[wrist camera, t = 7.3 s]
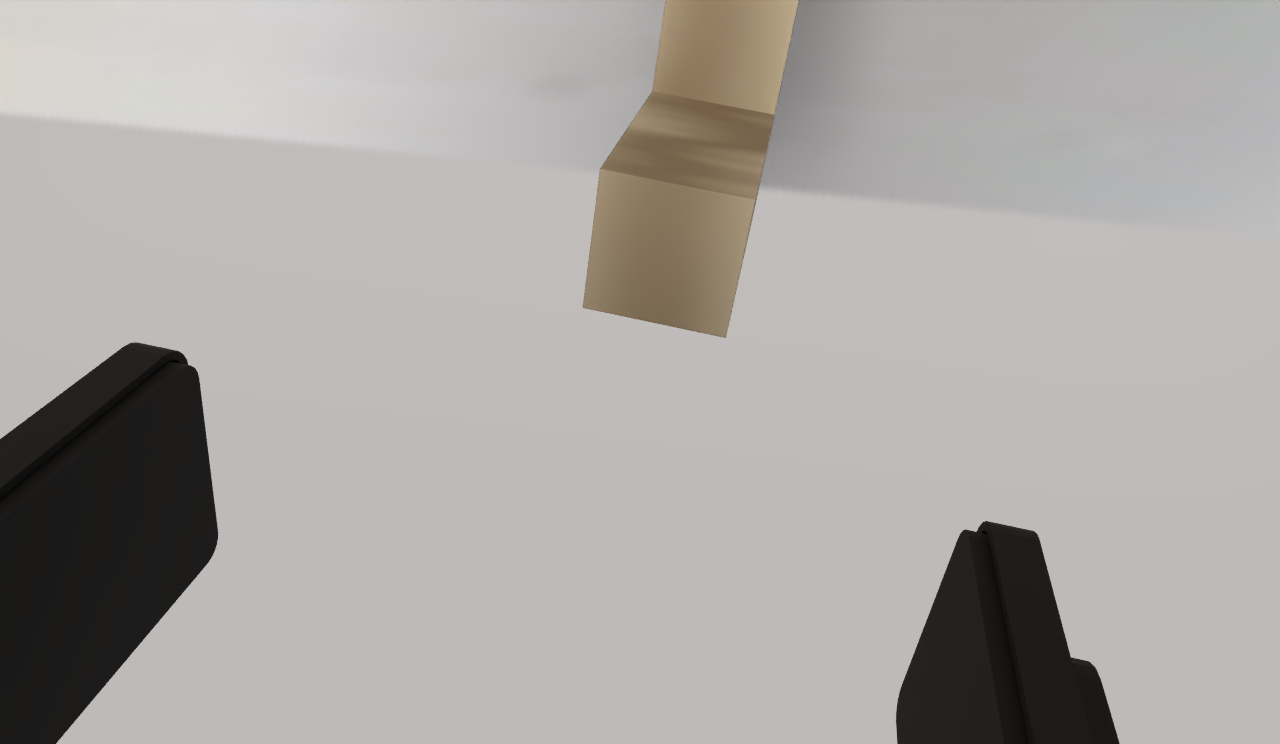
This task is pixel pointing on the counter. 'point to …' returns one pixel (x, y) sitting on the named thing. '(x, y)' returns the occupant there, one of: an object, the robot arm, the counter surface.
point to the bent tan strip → (690, 167)
